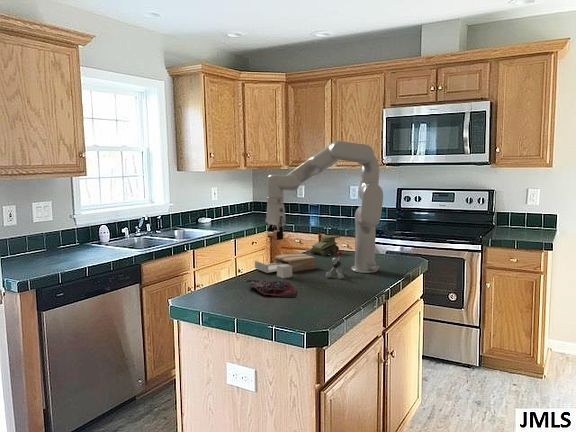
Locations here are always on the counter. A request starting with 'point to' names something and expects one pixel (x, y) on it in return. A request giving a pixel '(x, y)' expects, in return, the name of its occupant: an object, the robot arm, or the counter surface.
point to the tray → (267, 266)
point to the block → (284, 270)
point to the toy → (326, 246)
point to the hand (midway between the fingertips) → (275, 238)
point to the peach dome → (272, 233)
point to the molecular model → (336, 266)
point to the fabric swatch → (273, 288)
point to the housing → (297, 261)
